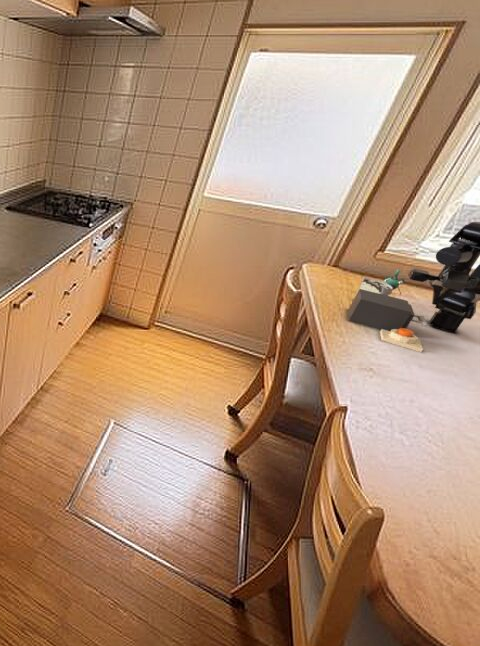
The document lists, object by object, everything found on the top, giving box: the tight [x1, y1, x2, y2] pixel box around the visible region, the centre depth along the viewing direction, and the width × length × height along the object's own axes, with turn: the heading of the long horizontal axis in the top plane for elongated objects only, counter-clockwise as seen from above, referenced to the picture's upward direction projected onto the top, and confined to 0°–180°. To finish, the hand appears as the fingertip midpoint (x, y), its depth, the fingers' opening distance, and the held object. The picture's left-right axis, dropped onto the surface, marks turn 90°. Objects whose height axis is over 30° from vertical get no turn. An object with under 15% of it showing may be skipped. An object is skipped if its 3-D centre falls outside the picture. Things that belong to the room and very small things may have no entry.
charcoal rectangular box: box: [347, 288, 412, 331], centre depth 152 cm, size 14×13×9 cm
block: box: [379, 329, 424, 353], centre depth 141 cm, size 10×8×3 cm
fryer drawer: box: [402, 303, 427, 329], centre depth 150 cm, size 17×11×7 cm
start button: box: [397, 328, 415, 337], centre depth 140 cm, size 4×4×2 cm
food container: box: [355, 277, 393, 296], centre depth 164 cm, size 12×6×10 cm, turn 168°
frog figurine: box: [382, 269, 405, 296], centre depth 170 cm, size 10×18×15 cm, turn 146°
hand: (433, 304), depth 143 cm, fingers closed
